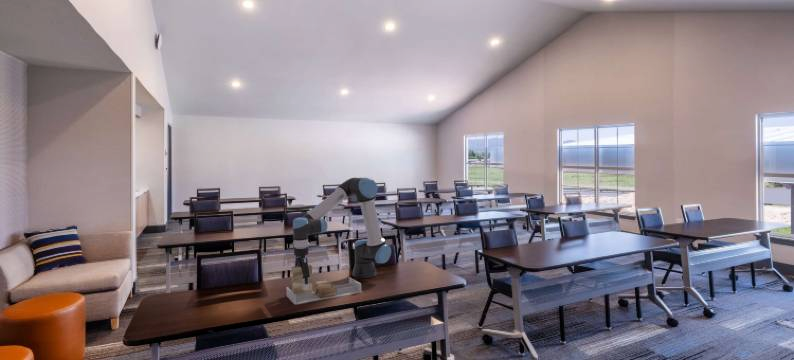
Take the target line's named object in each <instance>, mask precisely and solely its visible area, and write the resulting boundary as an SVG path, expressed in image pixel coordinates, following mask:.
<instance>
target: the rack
mask: <svg viewBox="0 0 794 360" xmlns="http://www.w3.org/2000/svg"><path fill="white" fill-rule="evenodd" d="M332 287H334V288H336V292H335V296H332V297H326V298H320V297H318V296H317V295H316V294H315V293H314V291H313V293H308V294H303V295H297V296H296V295H295V294H294V293H293V292H292V289H290V288H289V286H287V287H286V297H287V298H288V299H289V300H290V302H291V303H292V304H293V305H300V304H305V303H310V302H316V301H321V300H328V299H333V298H338V297H339V298H340V297H344V296H349V295H355V294H361V293H362V283H361V282H359V281H357V280H355V279H354V278H352V277H350V276H348V283H345V284H338V285H332Z"/></svg>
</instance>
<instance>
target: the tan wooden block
mask: <svg viewBox="0 0 794 360" xmlns="http://www.w3.org/2000/svg"><path fill="white" fill-rule="evenodd" d="M308 268H309V274H310V277H309V278H308V280H309V290H305V291H304V290H303V279H302V277H303V273H302V269H301V267H300V266H296V267H295V266H291V291H292V292H293V293H294V294H295V295H296V296H297V295H303V294H308V293H313V292H314V289H313V287H314V286H313V267H312V264H308Z"/></svg>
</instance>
